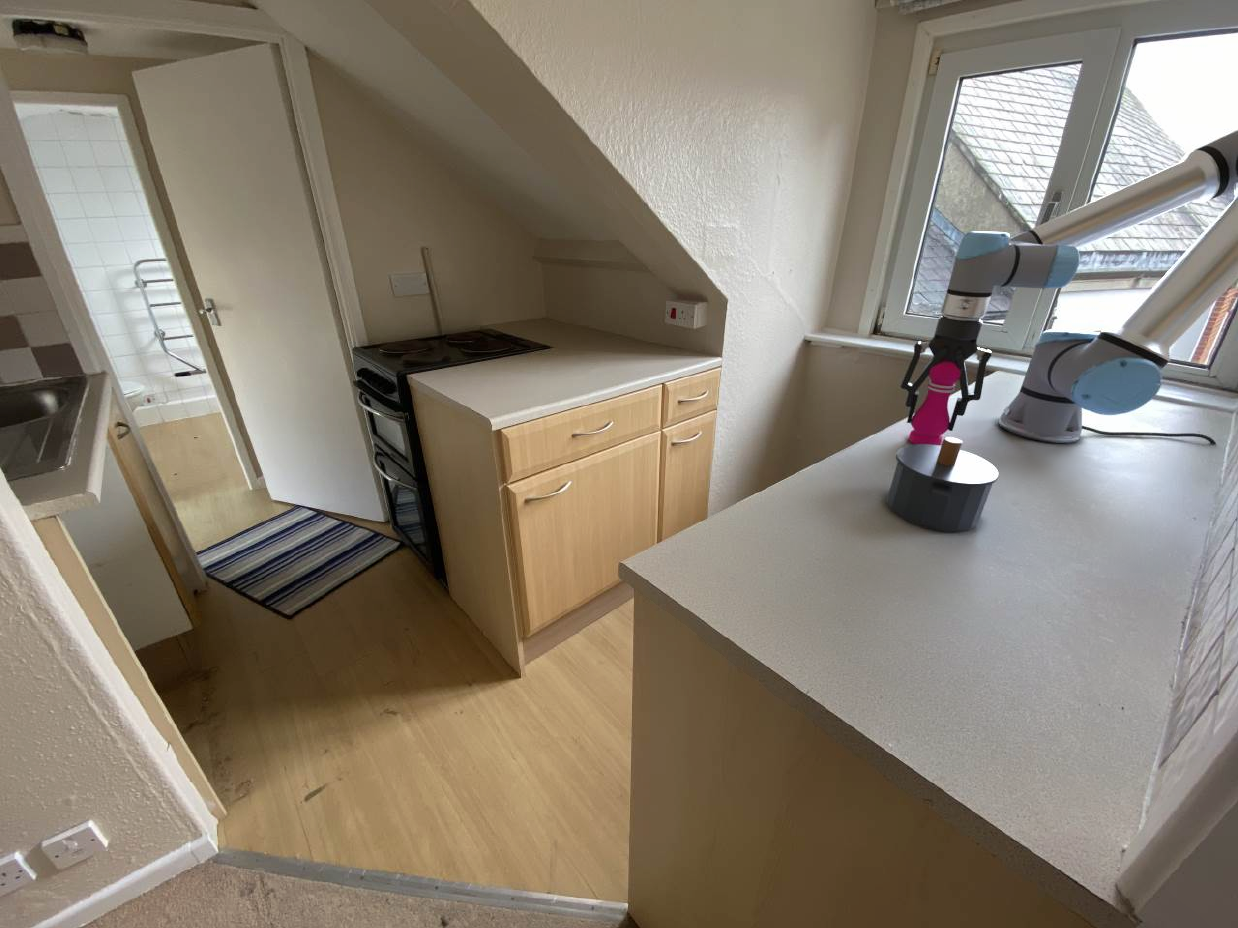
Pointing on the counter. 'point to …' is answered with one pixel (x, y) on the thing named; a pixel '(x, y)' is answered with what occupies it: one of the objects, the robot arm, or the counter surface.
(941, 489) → the pot
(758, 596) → the counter surface
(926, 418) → the pepper mill
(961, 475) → the pot lid
